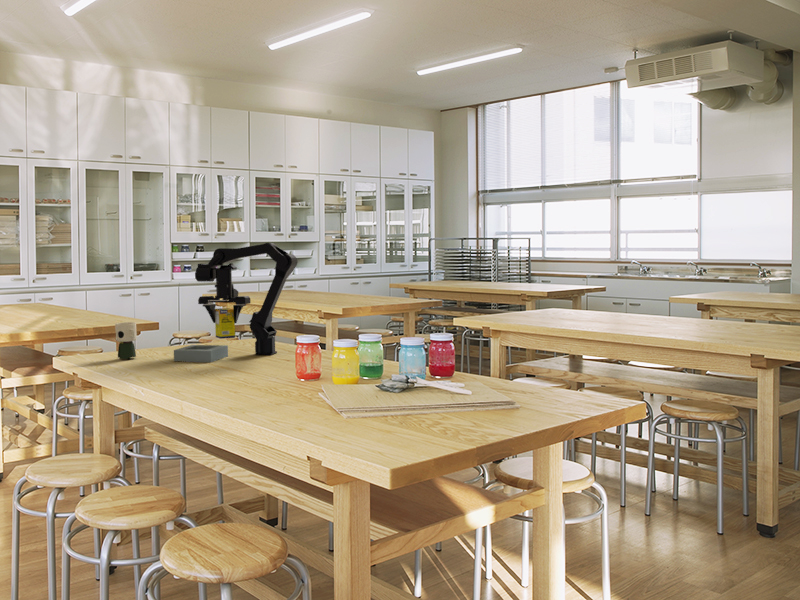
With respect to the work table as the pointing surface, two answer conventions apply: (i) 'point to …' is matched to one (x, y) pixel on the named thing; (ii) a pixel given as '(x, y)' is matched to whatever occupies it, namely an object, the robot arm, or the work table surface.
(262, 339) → the robot arm
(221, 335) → the supplement box
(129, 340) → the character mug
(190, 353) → the block
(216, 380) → the work table surface
